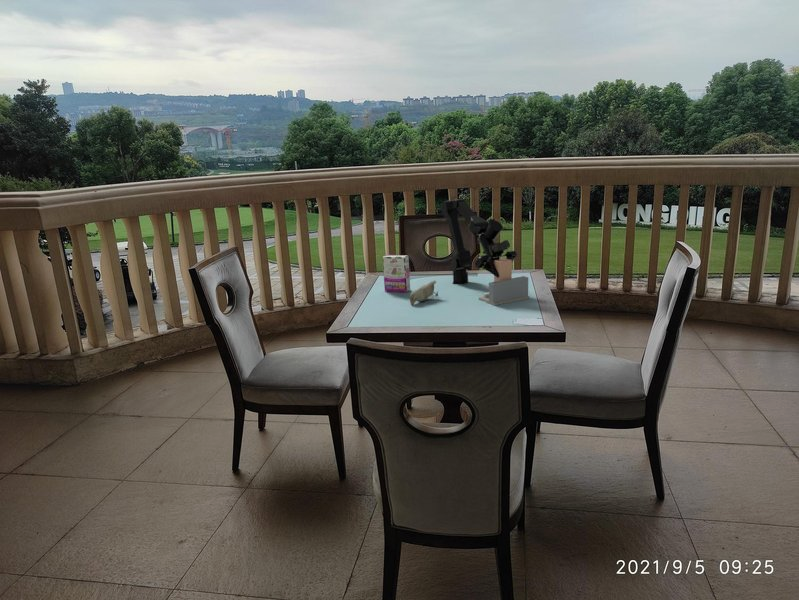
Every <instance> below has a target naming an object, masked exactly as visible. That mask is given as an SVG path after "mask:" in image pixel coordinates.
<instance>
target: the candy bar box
mask: <svg viewBox="0 0 799 600" xmlns="http://www.w3.org/2000/svg"><path fill="white" fill-rule="evenodd" d="M409 261H410V259H409V255H404V254H403V255H399V254H398V255H397V254H385V255H383V256H382V266H383V269H382V270H383V281H384V282H383V283H384V292H389V293H408V292H409V291H410V290H411V277H410V276H411V275H410V262H409Z"/></svg>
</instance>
